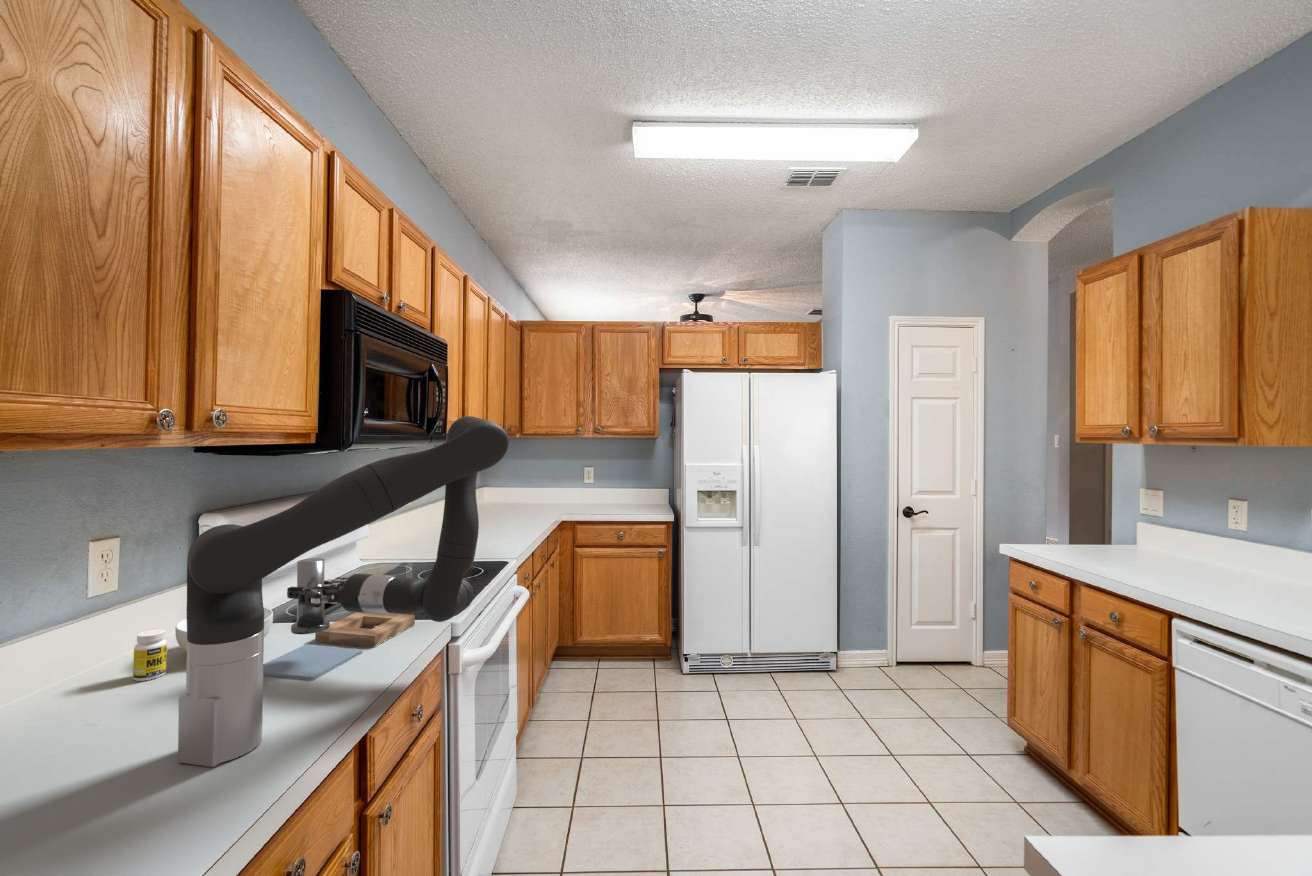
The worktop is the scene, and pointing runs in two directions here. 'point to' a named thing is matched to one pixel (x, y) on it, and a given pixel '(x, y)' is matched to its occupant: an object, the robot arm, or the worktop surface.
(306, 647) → the mat
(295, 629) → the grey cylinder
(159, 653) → the supplement bottle
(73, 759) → the worktop surface
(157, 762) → the worktop surface
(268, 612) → the cereal bowl
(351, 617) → the frame
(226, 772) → the worktop surface
